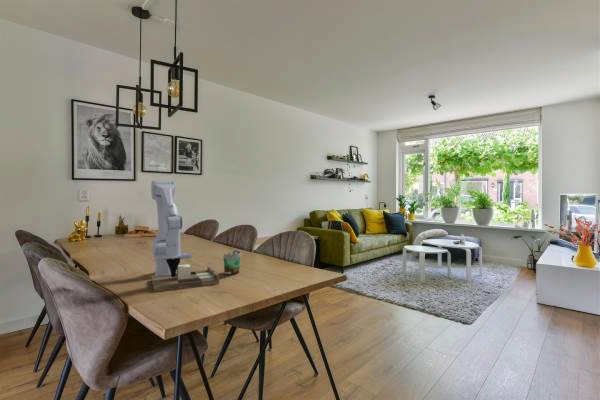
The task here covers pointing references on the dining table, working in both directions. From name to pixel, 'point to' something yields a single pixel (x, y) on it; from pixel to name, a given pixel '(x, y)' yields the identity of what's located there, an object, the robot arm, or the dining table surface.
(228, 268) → the food container
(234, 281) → the dining table surface
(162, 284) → the trap deck
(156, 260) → the robot arm
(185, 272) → the block
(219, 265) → the dining table surface
